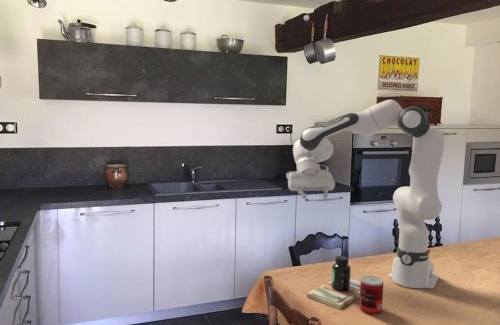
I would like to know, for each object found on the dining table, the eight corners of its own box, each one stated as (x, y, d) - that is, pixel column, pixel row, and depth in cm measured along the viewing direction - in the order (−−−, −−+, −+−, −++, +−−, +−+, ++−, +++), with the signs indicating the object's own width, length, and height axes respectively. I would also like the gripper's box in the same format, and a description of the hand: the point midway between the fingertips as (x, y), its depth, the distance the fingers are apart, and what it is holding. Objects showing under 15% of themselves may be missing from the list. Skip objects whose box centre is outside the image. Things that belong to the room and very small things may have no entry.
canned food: (377, 304, 156) (379, 275, 155) (385, 315, 148) (386, 284, 147) (356, 304, 156) (358, 275, 155) (363, 314, 148) (364, 284, 147)
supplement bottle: (330, 290, 163) (332, 259, 162) (332, 283, 170) (333, 254, 168) (349, 292, 161) (350, 261, 160) (350, 285, 168) (351, 256, 166)
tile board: (340, 279, 179) (340, 275, 179) (371, 289, 170) (371, 284, 170) (306, 297, 161) (307, 291, 161) (339, 309, 152) (340, 303, 152)
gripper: (287, 167, 184) (293, 193, 176) (331, 166, 189) (340, 193, 180) (283, 175, 189) (289, 202, 181) (327, 175, 194) (335, 201, 185)
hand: (315, 197), depth 180 cm, fingers open, 8 cm apart
